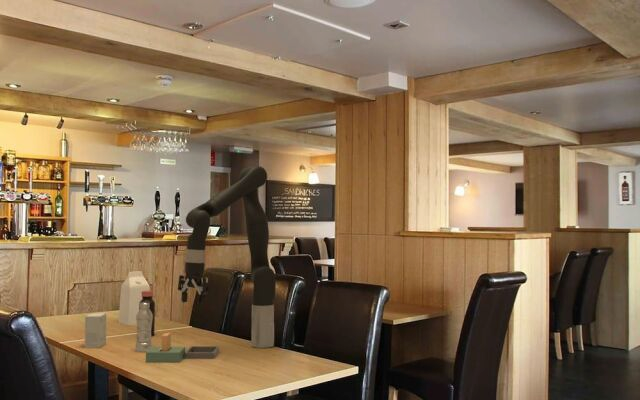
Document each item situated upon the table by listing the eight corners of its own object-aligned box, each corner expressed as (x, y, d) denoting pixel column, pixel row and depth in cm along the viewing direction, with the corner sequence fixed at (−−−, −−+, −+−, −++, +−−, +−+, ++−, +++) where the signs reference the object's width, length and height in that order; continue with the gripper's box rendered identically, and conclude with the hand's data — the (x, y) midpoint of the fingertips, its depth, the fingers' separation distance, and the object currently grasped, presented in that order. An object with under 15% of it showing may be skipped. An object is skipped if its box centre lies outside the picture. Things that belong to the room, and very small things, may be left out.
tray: (219, 355, 235) (219, 346, 235) (214, 362, 223) (214, 353, 223) (190, 355, 235) (190, 346, 235) (184, 362, 223) (184, 353, 223)
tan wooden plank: (170, 357, 224) (170, 333, 225) (166, 360, 219) (167, 335, 219) (164, 357, 224) (165, 332, 225) (161, 360, 219) (161, 335, 219)
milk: (140, 320, 316) (141, 270, 317) (150, 323, 308) (151, 271, 309) (118, 322, 308) (119, 271, 309) (128, 325, 300) (129, 272, 300)
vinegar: (156, 334, 277) (157, 290, 278) (150, 337, 270) (151, 292, 271) (142, 334, 278) (142, 290, 279) (136, 336, 271) (137, 291, 272)
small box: (90, 344, 255) (91, 312, 255) (106, 344, 255) (106, 313, 255) (84, 348, 247) (84, 316, 247) (99, 348, 247) (100, 316, 247)
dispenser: (185, 360, 227) (185, 345, 227) (179, 366, 217) (179, 351, 217) (152, 360, 227) (153, 345, 227) (145, 366, 217) (145, 351, 217)
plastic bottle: (137, 356, 232) (137, 304, 233) (133, 353, 238) (134, 302, 239) (154, 355, 235) (155, 303, 236) (150, 351, 241) (151, 301, 242)
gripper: (215, 262, 235) (212, 304, 234) (188, 260, 243) (186, 300, 242) (201, 262, 229) (198, 305, 228) (175, 260, 237) (172, 302, 236)
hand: (192, 303), depth 235 cm, fingers open, 8 cm apart
